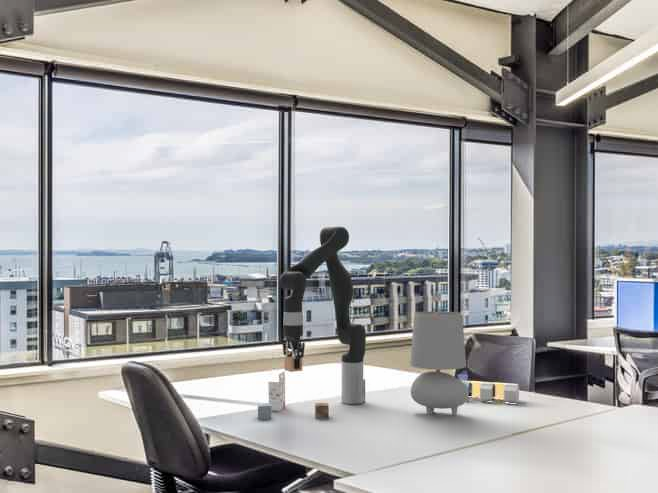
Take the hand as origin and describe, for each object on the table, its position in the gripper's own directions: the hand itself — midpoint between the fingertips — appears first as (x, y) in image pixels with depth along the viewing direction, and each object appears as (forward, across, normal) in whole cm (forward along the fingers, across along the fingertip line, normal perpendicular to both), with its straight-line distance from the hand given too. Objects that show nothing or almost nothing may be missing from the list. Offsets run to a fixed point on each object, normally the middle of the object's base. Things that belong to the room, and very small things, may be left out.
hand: (293, 367), depth 279 cm
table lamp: (+19, -26, -51) cm, 60 cm away
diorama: (+20, -17, -86) cm, 90 cm away
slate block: (+19, +5, +10) cm, 22 cm away
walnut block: (+19, -6, -9) cm, 22 cm away
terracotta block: (+1, 0, 0) cm, 1 cm away
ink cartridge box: (+19, +17, -2) cm, 26 cm away
